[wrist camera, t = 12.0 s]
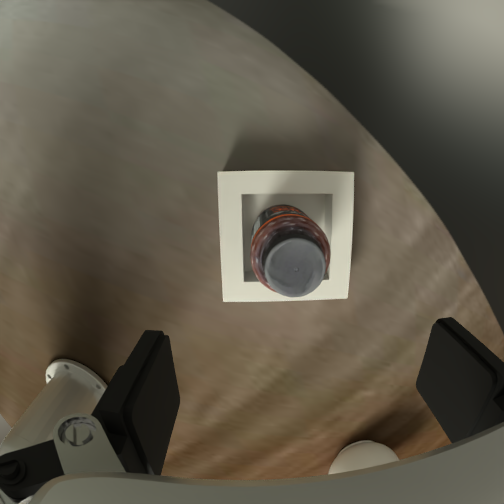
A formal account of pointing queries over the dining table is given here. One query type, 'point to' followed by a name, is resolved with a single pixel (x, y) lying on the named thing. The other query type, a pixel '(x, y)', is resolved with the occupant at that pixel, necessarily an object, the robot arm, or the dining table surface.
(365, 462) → the lidded bowl
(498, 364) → the robot arm
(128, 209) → the dining table surface
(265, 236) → the supplement bottle
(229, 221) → the socket
